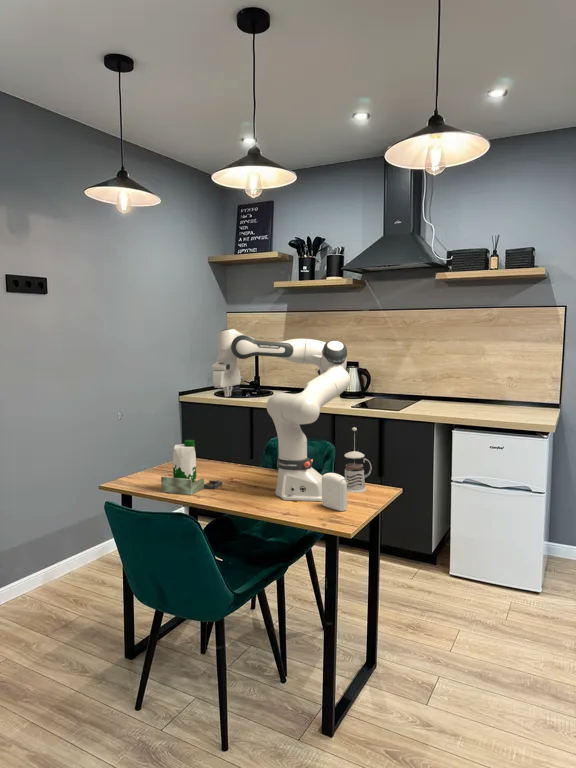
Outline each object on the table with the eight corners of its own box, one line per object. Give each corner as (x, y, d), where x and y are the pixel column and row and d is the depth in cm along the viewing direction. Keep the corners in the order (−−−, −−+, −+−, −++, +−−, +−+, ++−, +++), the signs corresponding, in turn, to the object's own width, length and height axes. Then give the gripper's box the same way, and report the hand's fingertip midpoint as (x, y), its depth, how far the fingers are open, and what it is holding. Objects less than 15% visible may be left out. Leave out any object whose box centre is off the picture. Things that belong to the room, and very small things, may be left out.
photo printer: (320, 505, 190) (319, 471, 189) (328, 503, 193) (328, 470, 192) (340, 512, 182) (340, 477, 181) (349, 510, 185) (349, 475, 184)
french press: (341, 485, 216) (340, 425, 214) (369, 485, 216) (369, 425, 214) (343, 492, 206) (343, 429, 205) (373, 492, 206) (373, 429, 204)
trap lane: (222, 485, 219) (222, 470, 219) (201, 496, 203) (201, 481, 203) (174, 480, 227) (174, 466, 227) (151, 490, 211) (151, 476, 211)
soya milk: (196, 492, 209) (195, 442, 207) (173, 493, 207) (171, 443, 206) (196, 486, 217) (195, 438, 216) (174, 487, 216) (173, 439, 214)
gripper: (231, 364, 245) (232, 394, 246) (209, 366, 226) (210, 398, 227) (243, 364, 243) (244, 394, 244) (223, 366, 224) (223, 398, 225)
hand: (227, 396), depth 235 cm, fingers closed
